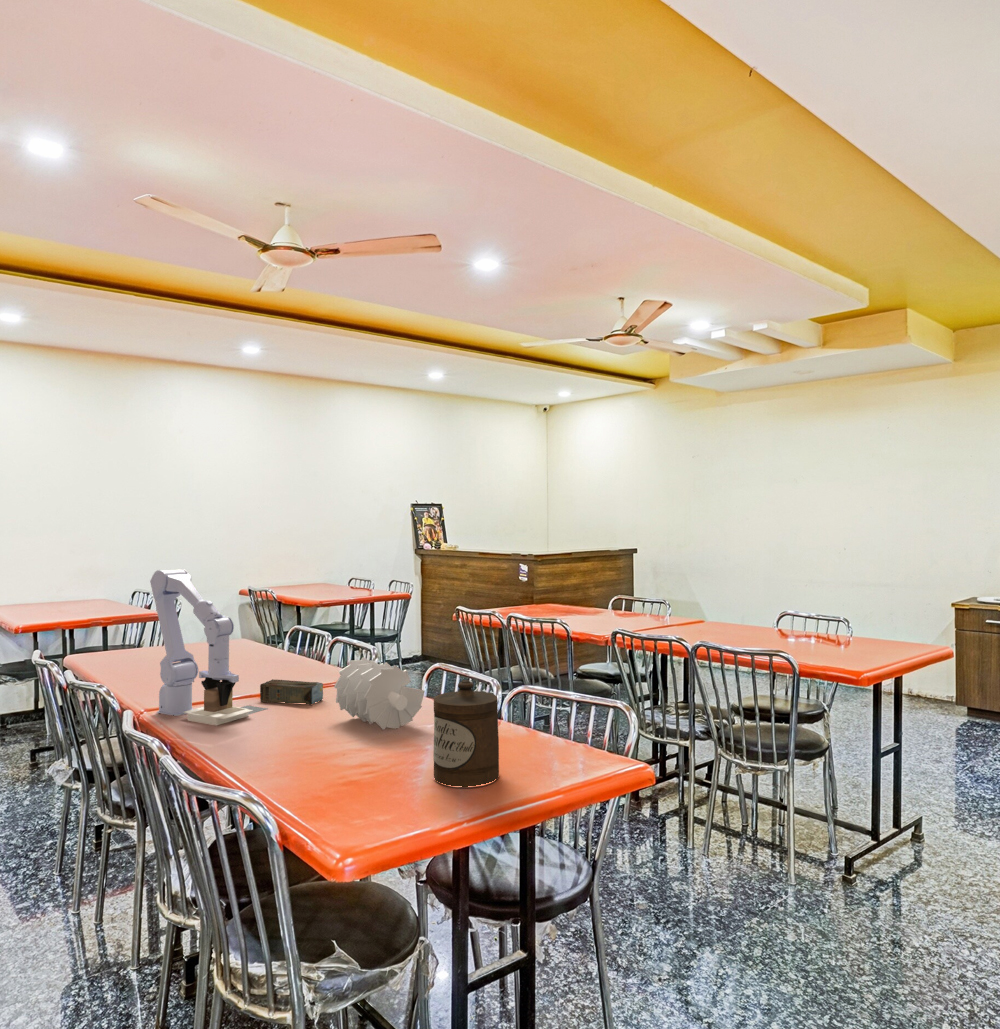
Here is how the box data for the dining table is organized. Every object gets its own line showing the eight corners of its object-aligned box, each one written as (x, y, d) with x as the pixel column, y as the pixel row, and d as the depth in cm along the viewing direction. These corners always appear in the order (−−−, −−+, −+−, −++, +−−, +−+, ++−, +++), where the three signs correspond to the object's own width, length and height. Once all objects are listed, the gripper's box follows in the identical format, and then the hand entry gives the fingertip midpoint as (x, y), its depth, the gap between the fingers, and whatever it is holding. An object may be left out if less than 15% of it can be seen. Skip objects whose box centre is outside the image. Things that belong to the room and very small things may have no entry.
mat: (225, 712, 228) (225, 711, 228) (247, 706, 236) (247, 705, 236) (246, 716, 223) (246, 715, 223) (268, 709, 231) (268, 708, 231)
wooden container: (420, 777, 169) (420, 680, 169) (468, 763, 179) (468, 671, 179) (463, 794, 158) (463, 690, 158) (512, 777, 168) (512, 680, 169)
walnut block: (213, 712, 216) (213, 691, 216) (203, 710, 218) (204, 690, 218) (232, 707, 222) (232, 687, 222) (222, 705, 224) (223, 685, 224)
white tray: (181, 720, 218) (181, 712, 218) (214, 711, 229) (214, 703, 229) (222, 727, 211) (222, 719, 211) (254, 718, 221) (254, 709, 221)
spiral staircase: (386, 748, 204) (342, 725, 223) (434, 711, 214) (388, 692, 233) (362, 693, 199) (320, 674, 218) (413, 658, 209) (368, 643, 228)
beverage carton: (312, 706, 237) (312, 685, 237) (258, 703, 242) (258, 682, 242) (323, 700, 245) (323, 680, 245) (271, 697, 250) (271, 678, 250)
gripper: (246, 658, 220) (246, 704, 220) (212, 654, 227) (212, 698, 227) (228, 662, 214) (227, 709, 214) (193, 657, 221) (192, 703, 221)
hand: (218, 704), depth 220 cm, fingers closed on walnut block, 4 cm apart
